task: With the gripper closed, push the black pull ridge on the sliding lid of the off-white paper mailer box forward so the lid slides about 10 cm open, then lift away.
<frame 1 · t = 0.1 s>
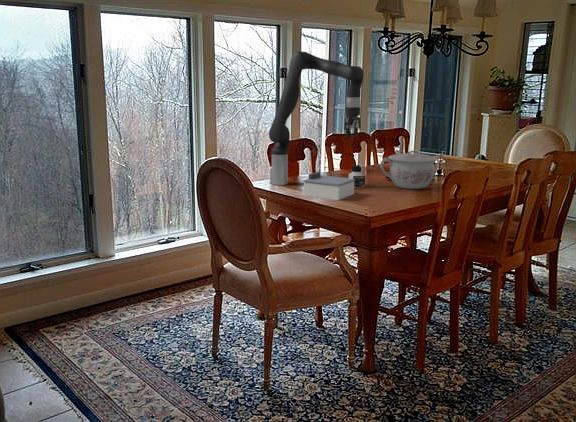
hand: (352, 137, 289), 29 cm above the table, fingers open, 8 cm apart
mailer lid: (329, 177, 288), point 9 cm above the table, slide at 0.0 cm
medicine bottle: (356, 186, 313), on the table
chamber pot: (410, 187, 313), on the table
mailer box: (329, 194, 290), on the table
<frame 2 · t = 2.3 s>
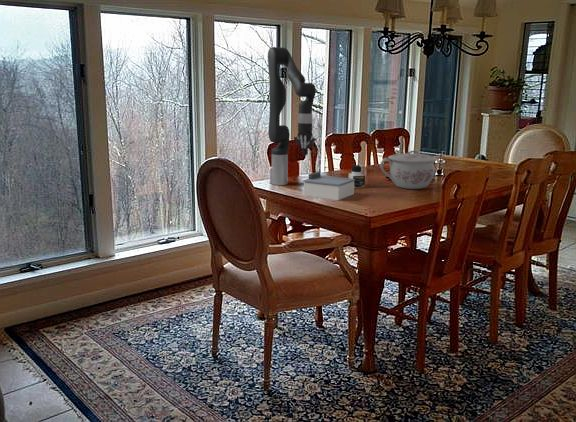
hand: (304, 155, 294), 20 cm above the table, fingers closed
nothing on the table moved.
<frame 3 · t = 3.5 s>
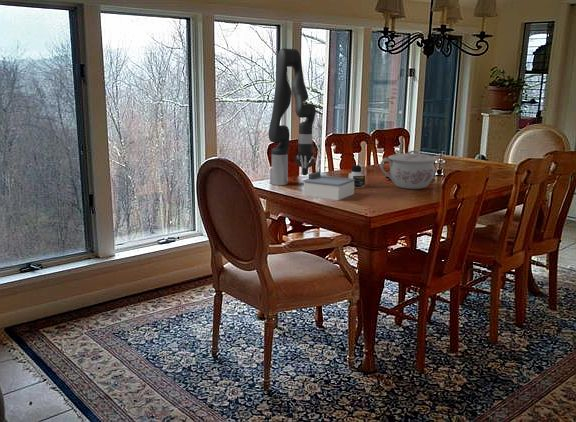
hand: (304, 175, 296), 9 cm above the table, fingers closed
nothing on the table moved.
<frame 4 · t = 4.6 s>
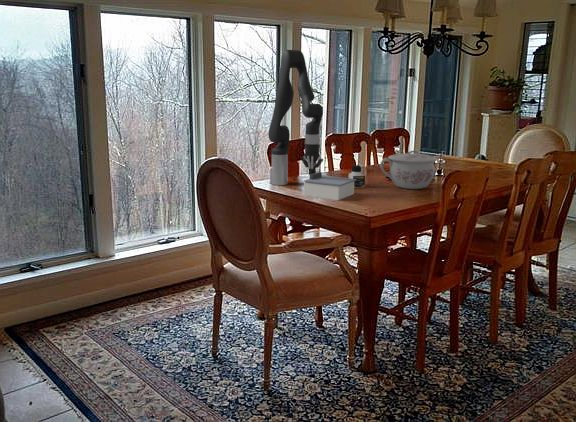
hand: (311, 175, 294), 9 cm above the table, fingers closed
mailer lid: (330, 178, 288), point 9 cm above the table, slide at 0.7 cm, touching gripper
everything else where it was.
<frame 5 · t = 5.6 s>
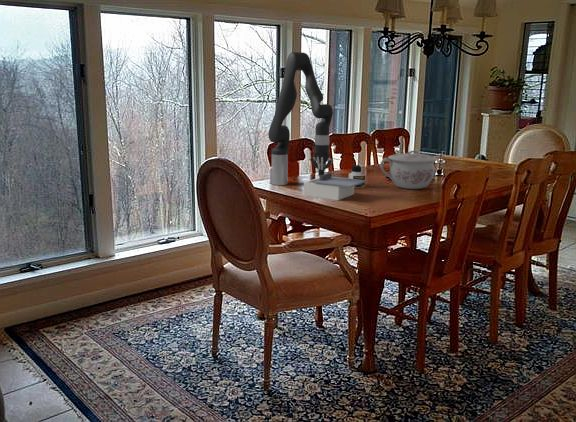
hand: (321, 176, 291), 9 cm above the table, fingers closed
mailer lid: (340, 179, 285), point 9 cm above the table, slide at 6.5 cm, touching gripper
everything else where it was.
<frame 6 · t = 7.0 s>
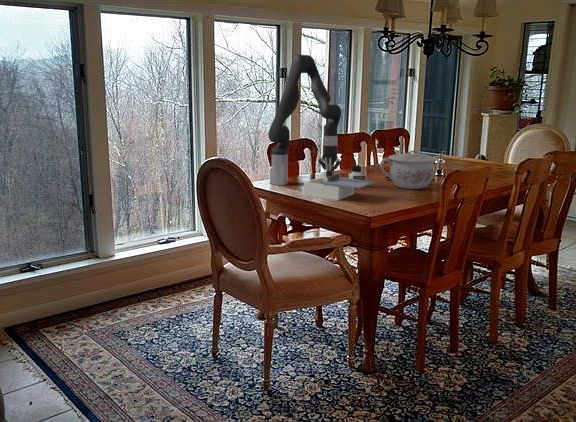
hand: (329, 177, 288), 9 cm above the table, fingers closed
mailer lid: (348, 180, 282), point 9 cm above the table, slide at 11.2 cm, touching gripper
everything else where it was.
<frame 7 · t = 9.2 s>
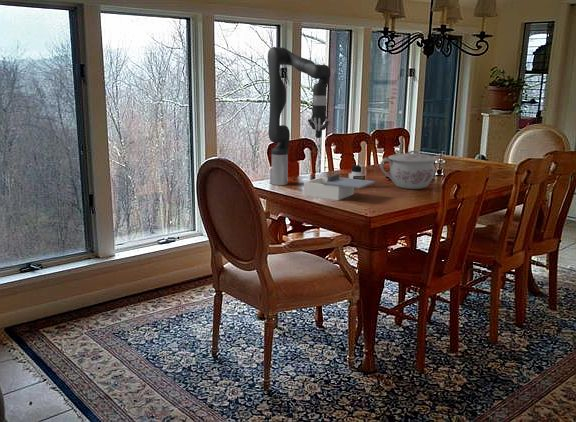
hand: (318, 137, 293), 29 cm above the table, fingers closed
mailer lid: (348, 180, 282), point 9 cm above the table, slide at 11.2 cm
everything else where it was.
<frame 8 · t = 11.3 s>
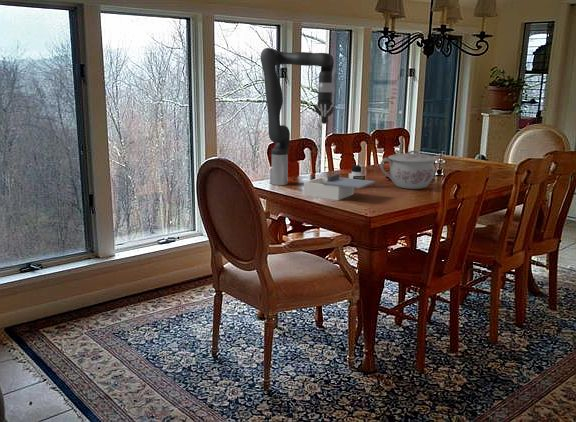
hand: (324, 123, 305), 35 cm above the table, fingers closed
nothing on the table moved.
at the end: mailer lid slide at 11.2 cm; medicine bottle moved 0.2 cm from its start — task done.
